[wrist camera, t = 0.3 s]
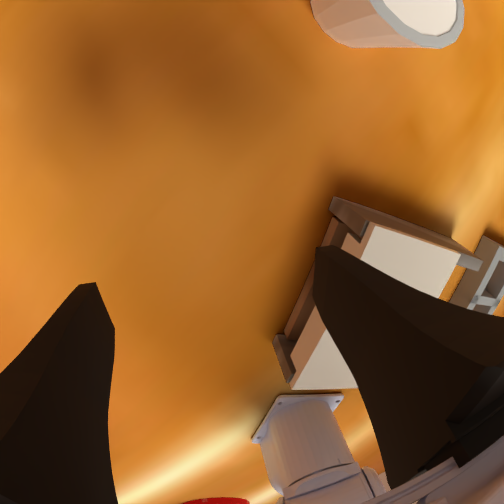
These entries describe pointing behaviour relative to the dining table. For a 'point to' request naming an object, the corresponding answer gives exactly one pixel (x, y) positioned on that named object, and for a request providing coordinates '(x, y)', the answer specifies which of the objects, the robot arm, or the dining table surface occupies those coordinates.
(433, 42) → the white cup
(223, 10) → the dining table surface
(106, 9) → the dining table surface
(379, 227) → the lid
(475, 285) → the socket board
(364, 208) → the housing
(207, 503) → the kitchen timer
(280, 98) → the dining table surface
